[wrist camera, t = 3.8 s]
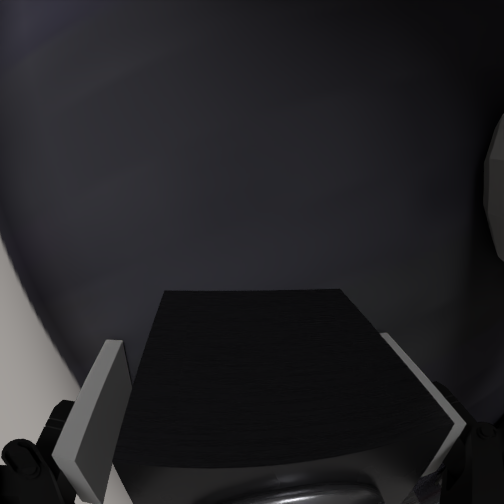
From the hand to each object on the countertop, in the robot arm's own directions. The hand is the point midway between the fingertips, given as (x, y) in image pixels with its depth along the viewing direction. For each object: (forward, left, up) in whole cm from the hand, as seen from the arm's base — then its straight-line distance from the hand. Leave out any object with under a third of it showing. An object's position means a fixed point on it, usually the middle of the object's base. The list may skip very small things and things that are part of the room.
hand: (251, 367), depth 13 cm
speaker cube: (0, 0, 0) cm, 0 cm away
